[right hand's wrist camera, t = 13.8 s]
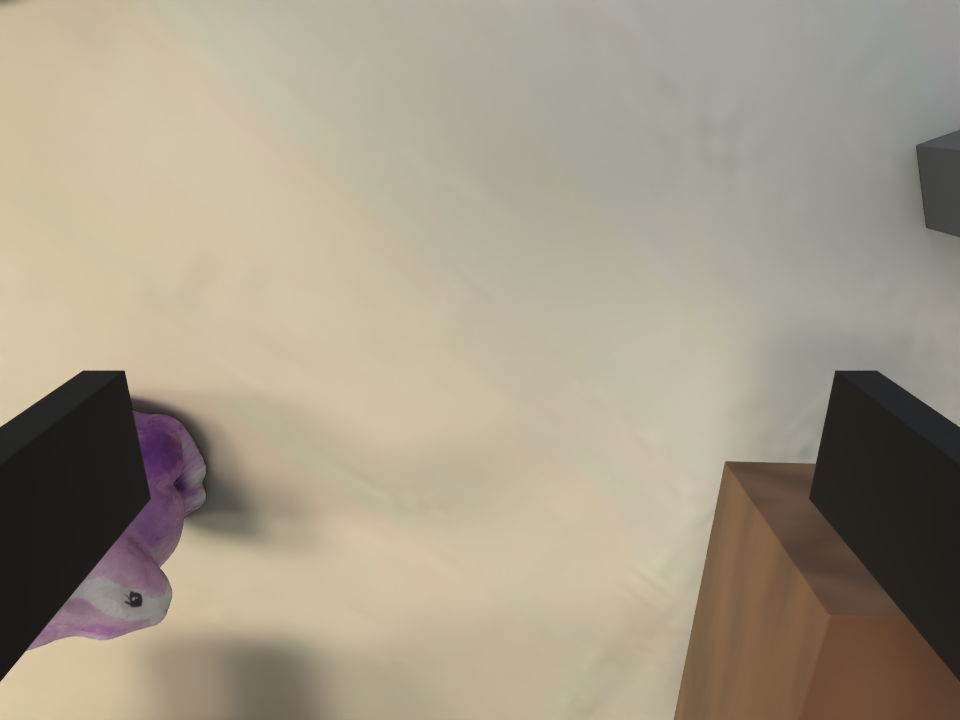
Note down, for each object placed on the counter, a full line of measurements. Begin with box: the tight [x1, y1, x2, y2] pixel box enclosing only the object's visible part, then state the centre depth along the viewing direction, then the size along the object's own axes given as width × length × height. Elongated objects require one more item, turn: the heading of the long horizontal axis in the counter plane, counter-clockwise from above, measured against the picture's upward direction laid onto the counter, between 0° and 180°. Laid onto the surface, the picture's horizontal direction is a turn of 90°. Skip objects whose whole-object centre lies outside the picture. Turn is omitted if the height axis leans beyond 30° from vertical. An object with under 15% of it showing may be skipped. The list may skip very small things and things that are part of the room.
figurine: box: [26, 410, 206, 651], centre depth 38 cm, size 9×10×15 cm
